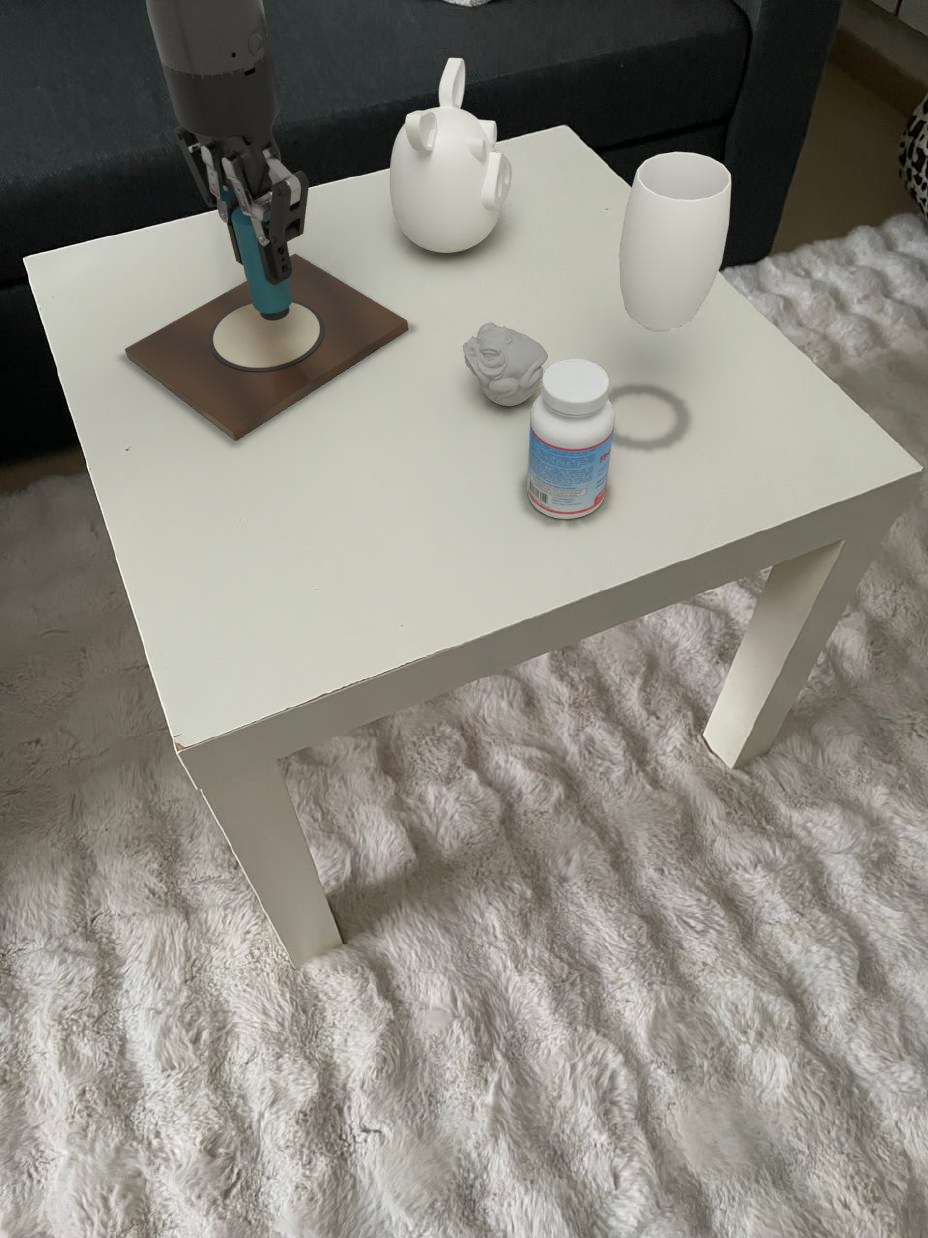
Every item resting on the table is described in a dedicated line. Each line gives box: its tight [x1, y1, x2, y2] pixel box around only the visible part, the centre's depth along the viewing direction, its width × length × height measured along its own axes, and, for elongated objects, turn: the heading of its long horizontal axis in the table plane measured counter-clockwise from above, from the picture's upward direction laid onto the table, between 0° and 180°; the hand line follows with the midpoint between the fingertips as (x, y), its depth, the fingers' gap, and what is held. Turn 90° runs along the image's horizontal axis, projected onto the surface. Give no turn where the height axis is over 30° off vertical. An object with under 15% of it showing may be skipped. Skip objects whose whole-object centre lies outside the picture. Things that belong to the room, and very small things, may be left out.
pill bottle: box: [526, 358, 616, 520], centre depth 68 cm, size 6×6×11 cm
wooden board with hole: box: [124, 253, 409, 441], centre depth 84 cm, size 20×16×1 cm
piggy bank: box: [389, 57, 513, 254], centre depth 87 cm, size 12×12×15 cm
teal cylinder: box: [231, 207, 292, 321], centre depth 76 cm, size 3×3×9 cm
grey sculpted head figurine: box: [462, 321, 549, 407], centre depth 76 cm, size 6×7×7 cm
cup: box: [618, 151, 732, 333], centre depth 69 cm, size 7×7×21 cm
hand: (264, 268), depth 76 cm, fingers closed on teal cylinder, 3 cm apart
